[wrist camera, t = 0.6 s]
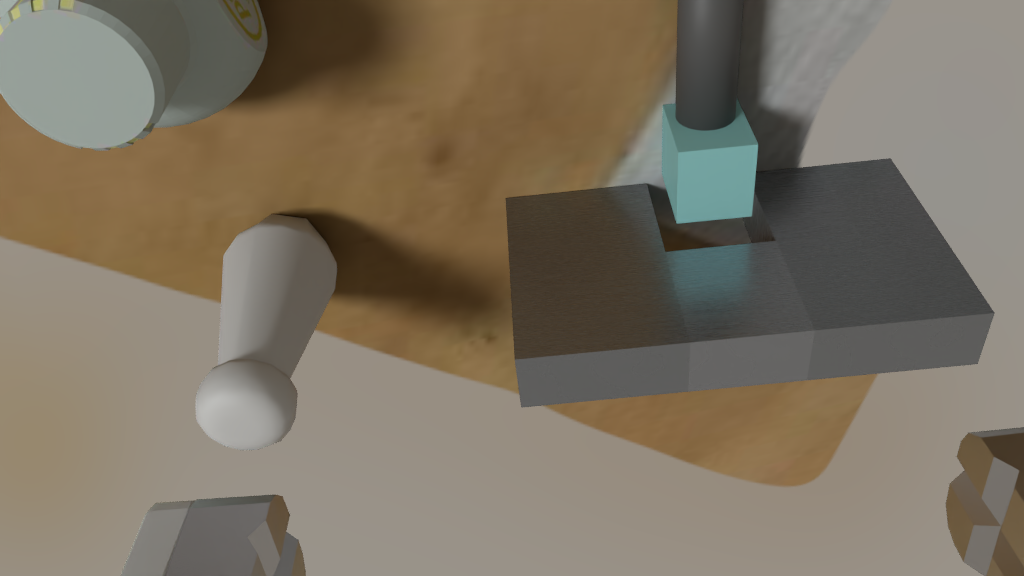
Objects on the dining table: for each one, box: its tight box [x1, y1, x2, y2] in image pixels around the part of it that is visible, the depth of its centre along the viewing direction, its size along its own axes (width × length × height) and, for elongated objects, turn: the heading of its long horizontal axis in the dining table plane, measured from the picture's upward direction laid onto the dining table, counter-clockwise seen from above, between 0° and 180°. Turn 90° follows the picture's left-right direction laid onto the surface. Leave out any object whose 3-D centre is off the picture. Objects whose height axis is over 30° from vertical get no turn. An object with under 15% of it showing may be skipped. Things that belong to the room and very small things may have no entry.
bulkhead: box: [506, 159, 994, 407], centre depth 43 cm, size 3×20×12 cm, turn 96°
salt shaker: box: [196, 214, 337, 450], centre depth 44 cm, size 6×6×13 cm
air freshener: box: [0, 0, 268, 150], centre depth 35 cm, size 11×8×10 cm
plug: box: [662, 0, 758, 224], centre depth 41 cm, size 13×4×4 cm, turn 6°
